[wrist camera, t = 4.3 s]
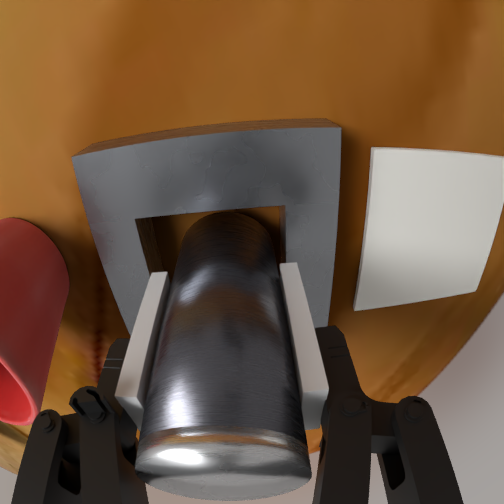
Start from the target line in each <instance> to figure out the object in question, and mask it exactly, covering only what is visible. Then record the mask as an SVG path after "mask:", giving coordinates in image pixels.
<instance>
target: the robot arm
mask: <svg viewBox="0 0 504 504" xmlns="http://www.w3.org/2000/svg"><path fill="white" fill-rule="evenodd" d="M280 285H281V291H282V296H283V302H284V308H285V313H286V319H287V325H288V330H289V336H290V342H291V348H292V354H293V360H294V366H295V372H296V378H297V384H298V390H299V396H300V402H301V408H302V414H303V420H304V426H305V430H310V429H317V428H320V424H321V426H322V432H323V435H322V439H321V442H320V445H319V447H320V455H319V464H318V470H317V478H316V484H315V490H314V497H313V503H312V504H368V498H369V484H370V467H371V466H370V465H371V453H377V457H378V461H379V465H380V469H381V474H382V478H383V482H384V487H385V491H386V495H387V500H388V504H463V500H462V497H461V493H460V490H459V486H458V483H457V480H456V477H455V473H454V470H453V467H452V464H451V461H450V458H449V455H448V452H447V449H446V446H445V444H444V441H443V438H442V435H441V433H440V429H439V427H438V424H437V421H436V419H435V416H434V414H433V411H432V408H431V407H430V405H429V404H428V402H427V401H425V400H424V399H423V398H420V397H417V396H408V397H406V398H403V399H402V400H401V401H400V402H399V403H386V402H379V401H375V400H373V399H370V398H369V397H368V396H366V395H365V394H364V392H363V391H362V389H361V387H360V384H359V381H358V378H357V375H356V371H355V368H354V365H353V362H352V359H351V356H350V353H349V349H348V347H347V343H346V340H345V337H344V334H343V333H342V332H341V331H340V330H339V329H338V328H337V327H336V326H326V327H317V328H314V325H313V322H312V318H311V314H310V310H309V306H308V302H307V298H306V295H305V291H304V287H303V283H302V280H301V276H300V272H299V269H298V265H297V262H294V263H281V264H280ZM170 287H171V283H170V279H169V276H168V272H155V273H151V276H150V279H149V282H148V285H147V288H146V291H145V294H144V297H143V300H142V303H141V306H140V309H139V312H138V315H137V319H136V322H135V325H134V328H133V332H132V335H131V338H130V339H118V338H117V339H116V341H115V342H114V343H113V344H112V345H111V347H110V348H109V351H108V354H107V357H106V360H105V363H104V366H103V367H104V369H102V372H101V376H100V379H99V382H98V385H97V388H96V387H94V386H85V387H82V388H80V389H78V390H77V391H75V392H74V394H73V395H72V396H71V398H70V402H69V405H70V406H71V407H72V408H73V409H74V410H75V412H76V413H74V414H69V415H63V416H60V415H59V414H58V413H57V412H56V411H54V410H52V409H49V410H44V411H42V412H40V413H39V414H38V415H37V416H36V418H35V419H34V421H33V425H32V428H31V431H30V434H29V437H28V440H27V444H26V447H25V450H24V454H23V457H22V461H21V465H20V468H19V472H18V476H17V481H16V484H15V489H14V493H13V498H12V502H11V504H149V502H148V497H147V492H146V486H145V482H143V481H142V480H141V479H140V478H139V477H138V476H137V475H136V474H135V463H136V456H137V450H138V443H139V442H138V439H137V438H136V432H137V428H138V429H139V431H141V425H142V419H143V413H144V408H145V402H146V397H147V391H148V386H149V381H150V376H151V371H152V366H153V361H154V357H155V352H156V347H157V343H158V338H159V333H160V329H161V325H162V320H163V316H164V312H165V307H166V303H167V299H168V295H169V291H170Z"/></svg>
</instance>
